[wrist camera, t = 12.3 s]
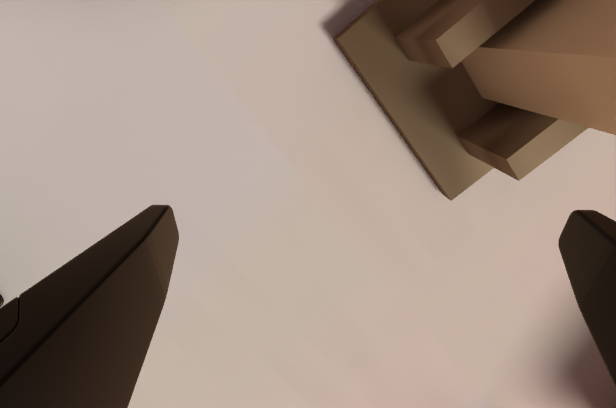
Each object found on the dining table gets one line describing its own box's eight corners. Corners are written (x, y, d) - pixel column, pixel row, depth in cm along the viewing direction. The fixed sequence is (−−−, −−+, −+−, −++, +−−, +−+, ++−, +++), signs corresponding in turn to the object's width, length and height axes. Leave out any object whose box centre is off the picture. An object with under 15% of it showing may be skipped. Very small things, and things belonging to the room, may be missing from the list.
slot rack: (443, 195, 22) (495, 235, 18) (333, 38, 19) (364, 41, 14) (673, 17, 21) (790, 14, 16) (605, -197, 17) (736, -276, 12)
